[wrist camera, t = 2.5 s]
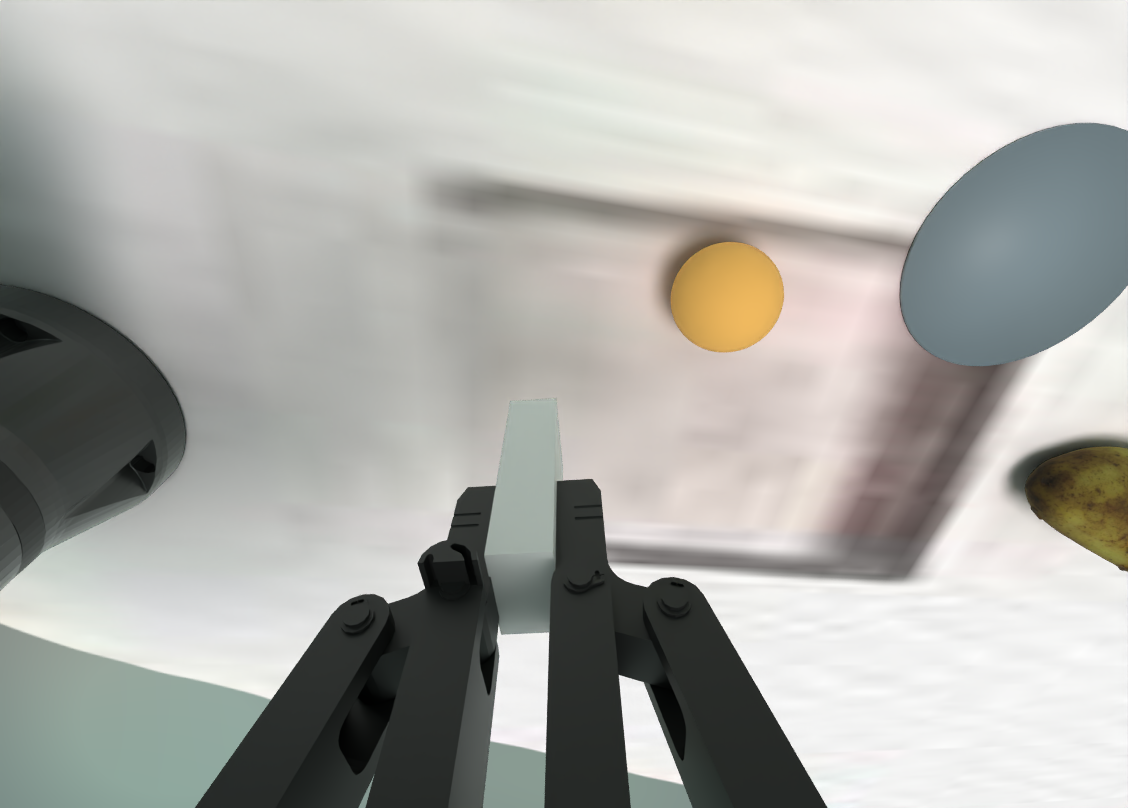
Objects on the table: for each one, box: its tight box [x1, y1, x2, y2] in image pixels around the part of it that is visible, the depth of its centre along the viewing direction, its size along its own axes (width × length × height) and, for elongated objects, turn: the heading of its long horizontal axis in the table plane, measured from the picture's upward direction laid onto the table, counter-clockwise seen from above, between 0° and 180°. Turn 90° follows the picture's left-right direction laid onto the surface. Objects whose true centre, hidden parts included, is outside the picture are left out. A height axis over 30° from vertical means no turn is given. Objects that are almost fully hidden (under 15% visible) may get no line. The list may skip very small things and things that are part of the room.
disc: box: [900, 123, 1128, 366], centre depth 29 cm, size 13×13×1 cm
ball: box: [671, 242, 784, 352], centre depth 27 cm, size 6×6×6 cm
